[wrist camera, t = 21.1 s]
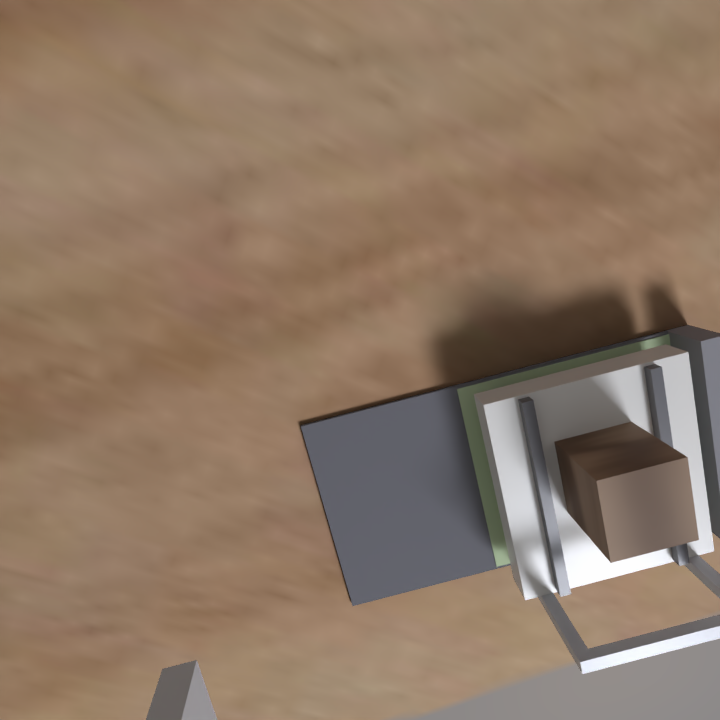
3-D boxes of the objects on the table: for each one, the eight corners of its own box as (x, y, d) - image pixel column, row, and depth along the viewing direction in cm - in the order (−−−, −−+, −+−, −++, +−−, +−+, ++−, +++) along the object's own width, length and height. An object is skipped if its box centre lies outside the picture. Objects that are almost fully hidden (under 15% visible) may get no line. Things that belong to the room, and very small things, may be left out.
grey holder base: (352, 603, 45) (355, 639, 41) (301, 425, 41) (298, 445, 38) (711, 510, 45) (749, 537, 41) (687, 324, 41) (725, 334, 38)
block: (567, 512, 39) (610, 562, 33) (554, 441, 38) (596, 481, 32) (642, 492, 39) (698, 540, 33) (631, 421, 38) (687, 457, 32)
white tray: (508, 574, 44) (563, 678, 34) (467, 387, 41) (514, 440, 31) (679, 530, 44) (785, 621, 34) (651, 339, 41) (760, 376, 31)
